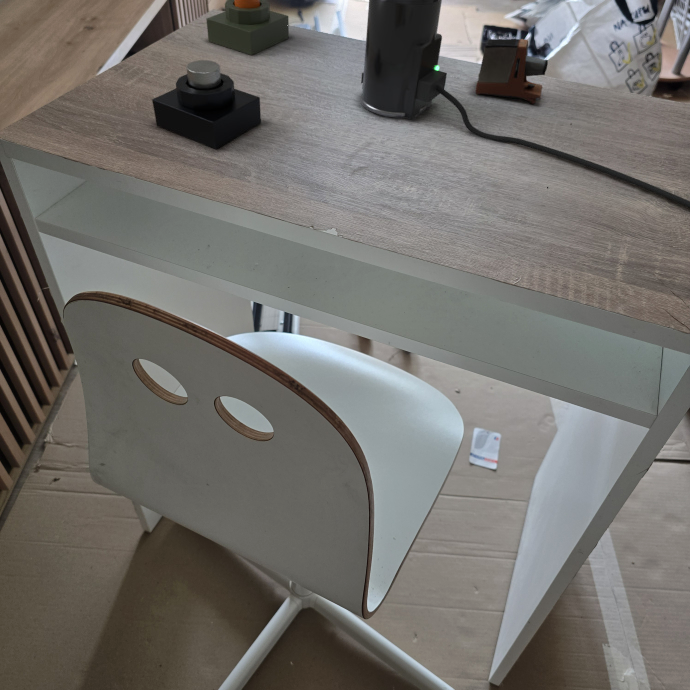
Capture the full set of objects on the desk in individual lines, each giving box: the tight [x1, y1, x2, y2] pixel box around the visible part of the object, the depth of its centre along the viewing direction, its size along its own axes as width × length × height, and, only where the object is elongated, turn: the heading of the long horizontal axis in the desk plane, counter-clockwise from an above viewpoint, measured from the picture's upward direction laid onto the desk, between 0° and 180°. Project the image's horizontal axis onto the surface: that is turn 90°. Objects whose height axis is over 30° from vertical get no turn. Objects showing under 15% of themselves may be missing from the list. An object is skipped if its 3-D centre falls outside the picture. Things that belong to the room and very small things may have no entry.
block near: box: [151, 72, 262, 150], centre depth 77 cm, size 10×9×6 cm
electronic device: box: [475, 38, 549, 105], centre depth 88 cm, size 4×10×8 cm, turn 74°
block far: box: [205, 0, 290, 56], centre depth 98 cm, size 10×9×6 cm
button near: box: [186, 59, 221, 91], centre depth 74 cm, size 4×4×2 cm
